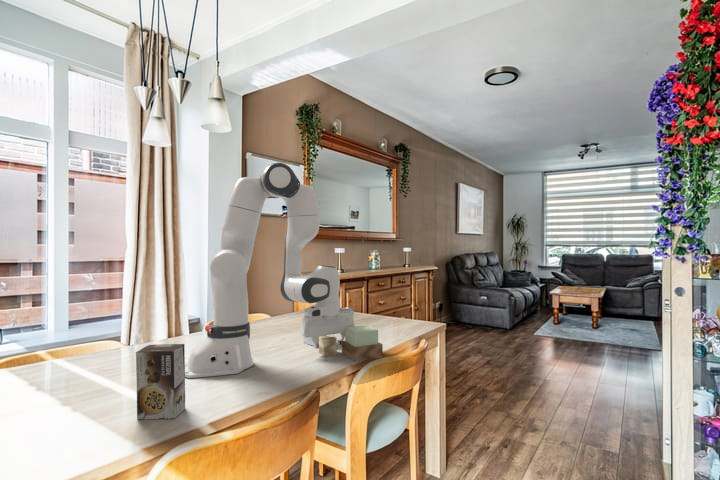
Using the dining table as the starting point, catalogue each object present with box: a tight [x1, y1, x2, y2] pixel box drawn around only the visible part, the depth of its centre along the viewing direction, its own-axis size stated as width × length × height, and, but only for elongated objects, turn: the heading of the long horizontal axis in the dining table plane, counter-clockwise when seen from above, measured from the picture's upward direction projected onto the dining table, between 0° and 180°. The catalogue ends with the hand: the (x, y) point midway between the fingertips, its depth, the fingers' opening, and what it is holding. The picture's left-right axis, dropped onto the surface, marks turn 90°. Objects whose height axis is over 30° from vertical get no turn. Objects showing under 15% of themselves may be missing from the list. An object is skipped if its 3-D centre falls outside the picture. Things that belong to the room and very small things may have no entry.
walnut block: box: [341, 340, 384, 363], centre depth 142 cm, size 11×11×5 cm
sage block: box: [344, 324, 379, 347], centre depth 142 cm, size 9×9×5 cm
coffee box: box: [135, 343, 186, 420], centre depth 94 cm, size 9×6×16 cm
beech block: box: [318, 334, 338, 357], centre depth 144 cm, size 5×5×6 cm
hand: (328, 346), depth 144 cm, fingers open, 8 cm apart
